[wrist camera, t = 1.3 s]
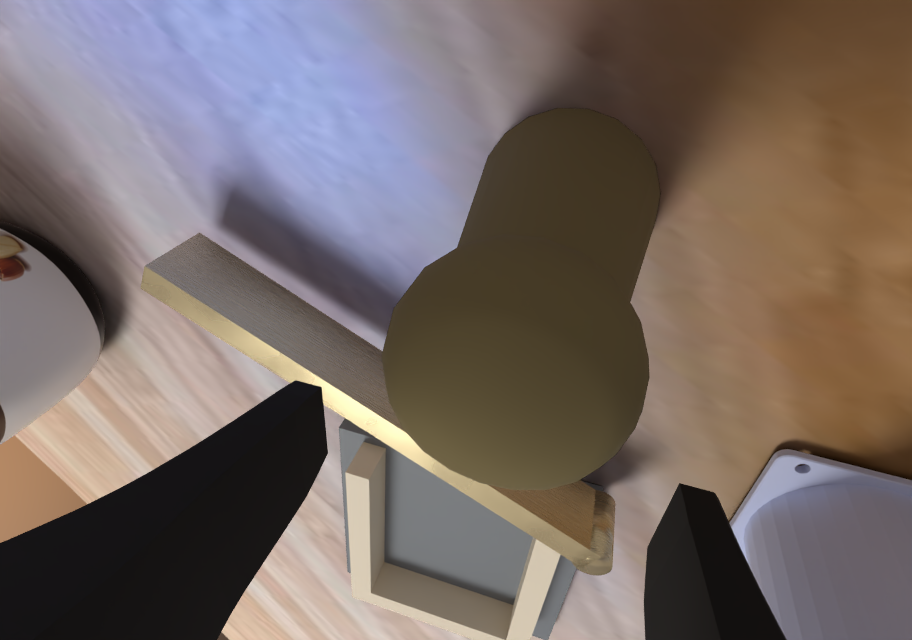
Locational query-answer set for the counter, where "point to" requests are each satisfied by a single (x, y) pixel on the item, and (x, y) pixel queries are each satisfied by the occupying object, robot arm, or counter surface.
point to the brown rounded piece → (533, 310)
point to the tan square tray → (442, 550)
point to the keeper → (357, 386)
